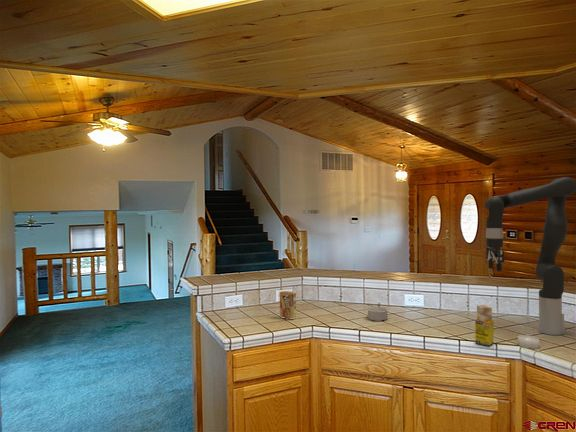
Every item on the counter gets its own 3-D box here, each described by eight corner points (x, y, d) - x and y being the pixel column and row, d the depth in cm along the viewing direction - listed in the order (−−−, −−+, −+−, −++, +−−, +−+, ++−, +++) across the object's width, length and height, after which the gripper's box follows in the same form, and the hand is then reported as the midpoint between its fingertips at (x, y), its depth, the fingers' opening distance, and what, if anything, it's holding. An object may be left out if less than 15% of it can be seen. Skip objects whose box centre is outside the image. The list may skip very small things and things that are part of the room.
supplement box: (475, 344, 174) (474, 319, 174) (480, 340, 178) (479, 317, 178) (489, 347, 170) (489, 322, 169) (494, 343, 174) (493, 319, 174)
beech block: (487, 318, 176) (486, 305, 176) (491, 321, 171) (491, 307, 171) (477, 318, 176) (476, 305, 176) (481, 321, 171) (481, 307, 171)
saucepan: (389, 313, 228) (389, 303, 228) (387, 322, 209) (387, 312, 209) (369, 311, 231) (369, 302, 231) (366, 321, 212) (366, 311, 212)
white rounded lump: (532, 342, 174) (532, 335, 174) (543, 349, 166) (543, 341, 166) (514, 342, 175) (514, 334, 175) (523, 349, 167) (523, 341, 167)
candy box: (296, 318, 220) (296, 291, 220) (294, 320, 217) (293, 293, 216) (282, 316, 224) (282, 290, 224) (279, 318, 220) (279, 292, 220)
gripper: (509, 238, 185) (509, 272, 185) (495, 236, 199) (495, 267, 199) (493, 238, 185) (493, 272, 185) (480, 236, 199) (480, 267, 200)
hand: (494, 269), depth 192 cm, fingers open, 8 cm apart
